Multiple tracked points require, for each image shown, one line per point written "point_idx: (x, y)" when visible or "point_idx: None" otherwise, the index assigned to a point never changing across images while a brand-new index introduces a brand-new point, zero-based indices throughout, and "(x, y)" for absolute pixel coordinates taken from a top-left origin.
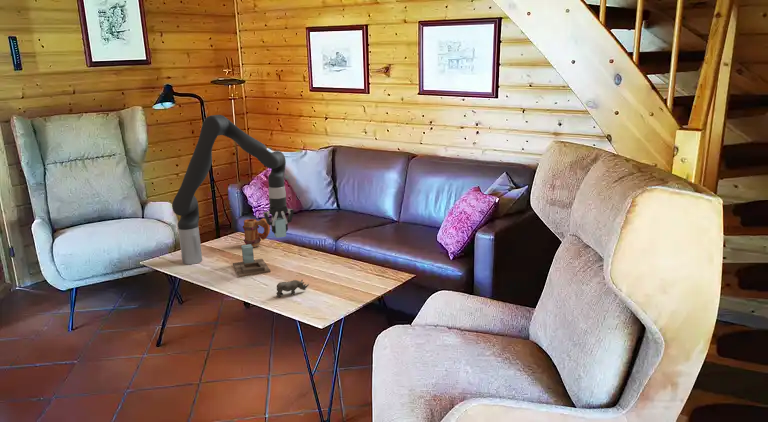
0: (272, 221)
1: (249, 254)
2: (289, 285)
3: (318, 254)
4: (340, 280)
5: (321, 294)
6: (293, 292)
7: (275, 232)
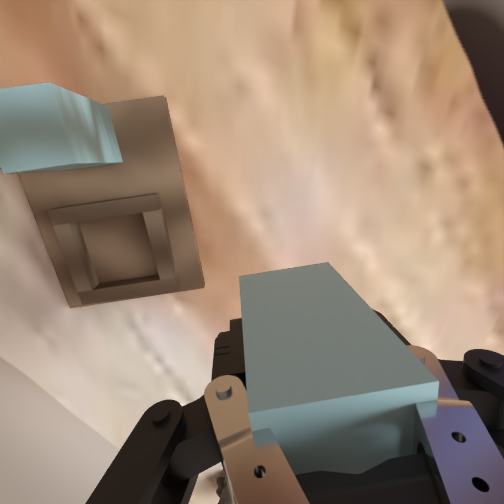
0: (228, 428)
1: (75, 166)
2: None
3: (460, 108)
4: None
5: None
6: None
7: None
